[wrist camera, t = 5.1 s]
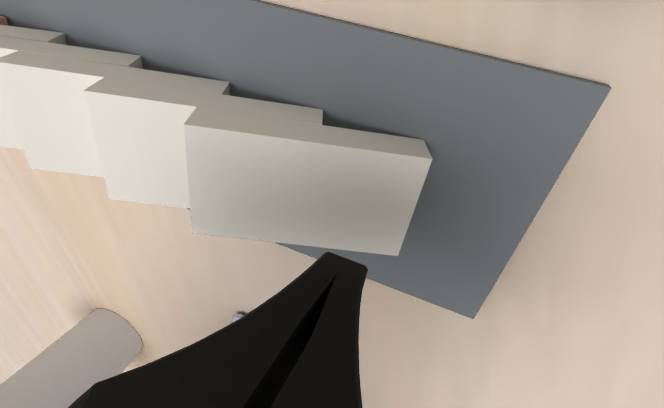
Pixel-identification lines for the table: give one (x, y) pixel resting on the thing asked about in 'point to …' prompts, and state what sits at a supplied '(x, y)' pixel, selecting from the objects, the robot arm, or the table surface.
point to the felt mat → (373, 115)
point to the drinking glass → (73, 363)
